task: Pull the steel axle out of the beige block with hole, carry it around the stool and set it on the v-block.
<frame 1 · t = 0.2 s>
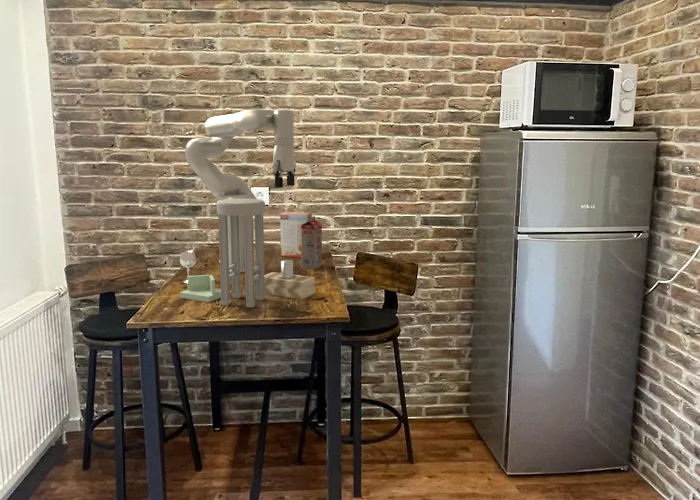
hand: (284, 186, 231), 37 cm above the table, tool pointing down, fingers open, 9 cm apart
beige block with hole: (287, 293, 213), on the table
cracker box: (296, 256, 278), on the table
juice carton: (311, 267, 256), on the table
wineglass: (188, 281, 229), on the table
steel axle: (287, 277, 212), in the beige block with hole
stool: (243, 302, 202), on the table
v-block: (200, 297, 207), on the table
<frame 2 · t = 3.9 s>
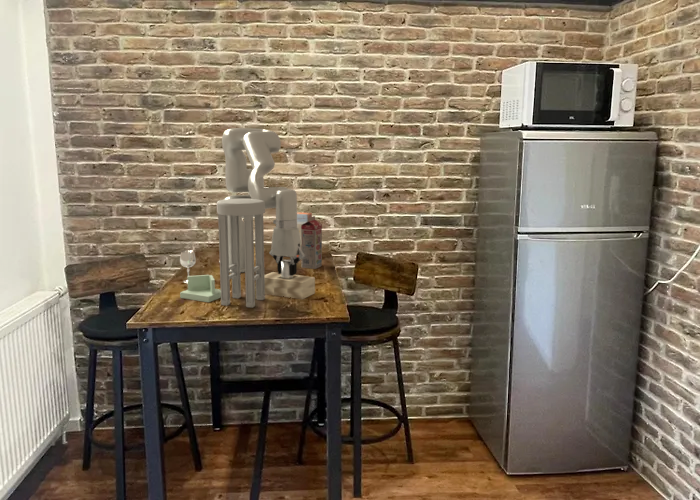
hand: (287, 273, 212), 7 cm above the table, tool pointing down, fingers closed on steel axle, 4 cm apart
steel axle: (287, 277, 212), in the beige block with hole, touching gripper
everything else where it was.
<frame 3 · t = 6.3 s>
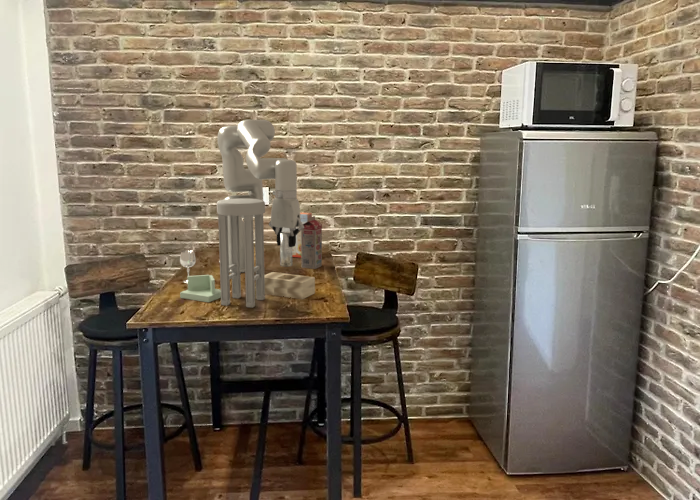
hand: (286, 245, 210), 18 cm above the table, tool pointing down, fingers closed on steel axle, 4 cm apart
steel axle: (286, 249, 211), point 16 cm above the table, touching gripper
everything else where it was.
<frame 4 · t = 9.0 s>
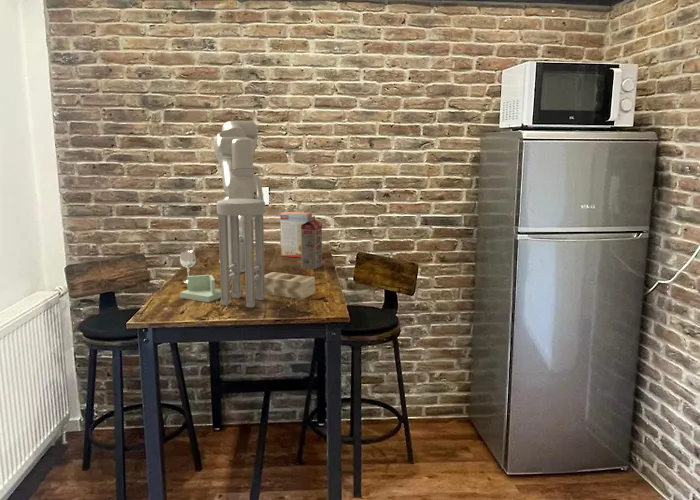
hand: (244, 221, 218), 25 cm above the table, tool pointing down, fingers closed on steel axle, 4 cm apart
steel axle: (244, 225, 218), point 24 cm above the table, touching gripper
everything else where it was.
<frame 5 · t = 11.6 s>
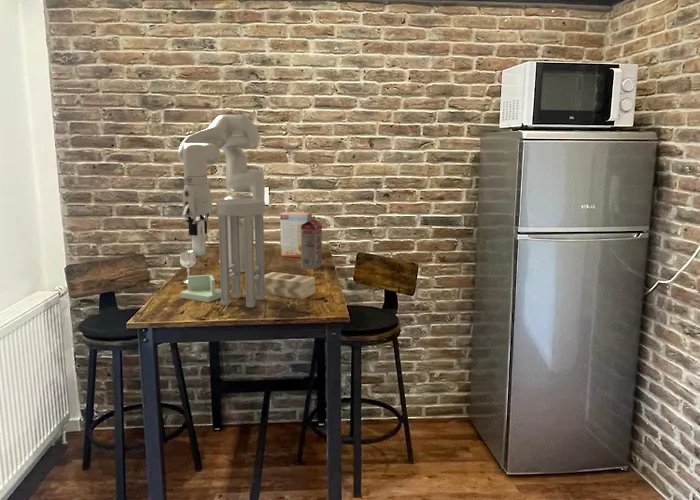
hand: (198, 233, 202), 23 cm above the table, tool pointing down, fingers closed on steel axle, 4 cm apart
steel axle: (198, 237, 202), point 22 cm above the table, touching gripper
everything else where it was.
when the fingers open (11 cm above the table, at t = 13.9 s): steel axle drops 2 cm, resting on v-block.
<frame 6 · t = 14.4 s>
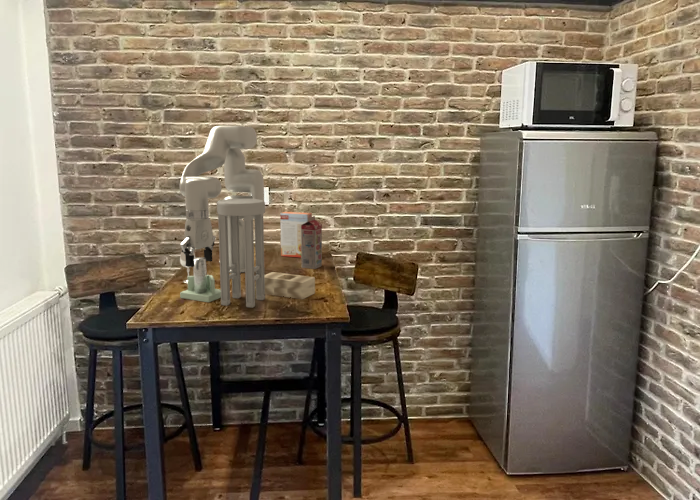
hand: (199, 263, 204), 12 cm above the table, tool pointing down, fingers open, 9 cm apart
steel axle: (200, 275, 205), point 8 cm above the table, touching v-block
everything else where it was.
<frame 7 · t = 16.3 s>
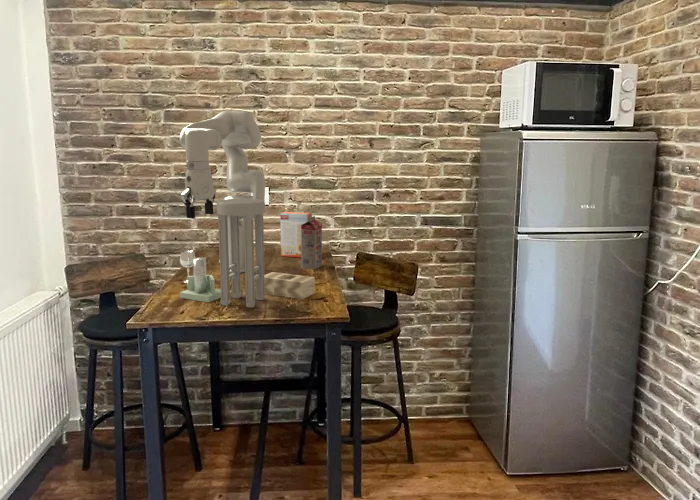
hand: (200, 216, 203), 29 cm above the table, tool pointing down, fingers open, 9 cm apart
nothing on the table moved.
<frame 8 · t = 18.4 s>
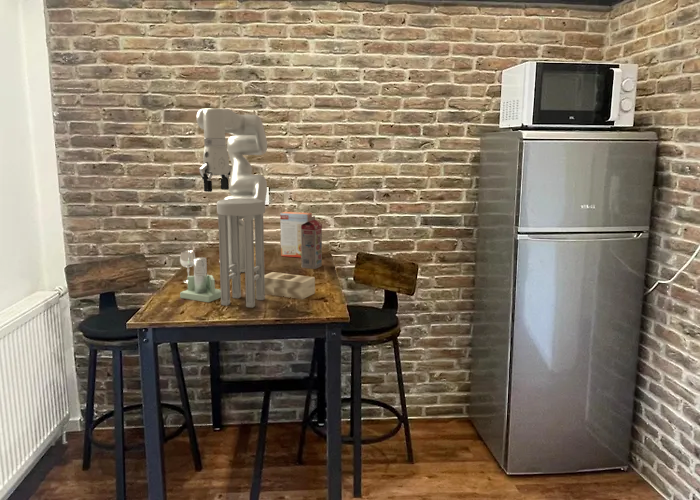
hand: (216, 190, 215), 36 cm above the table, tool pointing down, fingers open, 9 cm apart
nothing on the table moved.
at the end: steel axle 0.2 cm from the v-block (horizontally); steel axle tilted 1°; steel axle point 8.0 cm above the table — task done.
